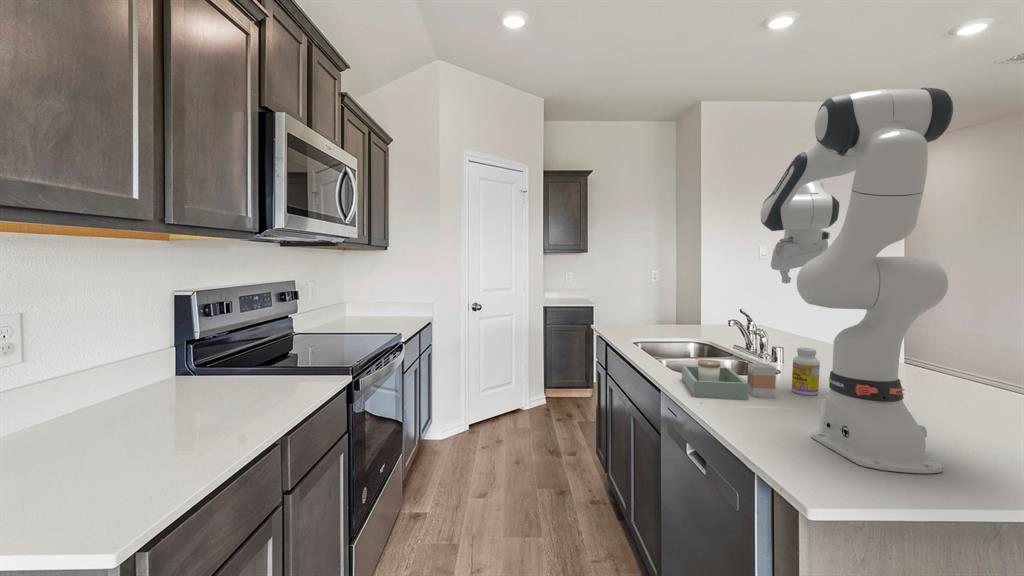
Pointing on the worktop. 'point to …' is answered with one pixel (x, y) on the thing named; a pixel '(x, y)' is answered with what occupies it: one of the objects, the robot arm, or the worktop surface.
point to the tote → (715, 384)
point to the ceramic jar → (708, 370)
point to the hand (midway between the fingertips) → (796, 280)
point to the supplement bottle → (805, 372)
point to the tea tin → (761, 380)
